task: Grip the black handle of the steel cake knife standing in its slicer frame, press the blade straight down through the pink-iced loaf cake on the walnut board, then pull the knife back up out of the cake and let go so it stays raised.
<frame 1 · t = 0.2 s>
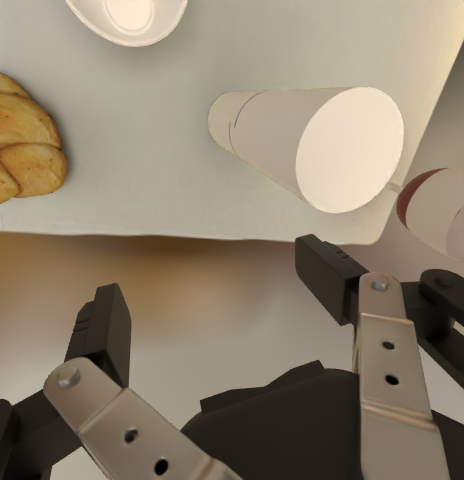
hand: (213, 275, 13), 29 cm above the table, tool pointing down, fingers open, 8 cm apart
cylindrical container: (233, 121, 38), on the table
bread roll: (24, 137, 33), on the table
wineglass: (346, 169, 46), on the table
cup: (128, 5, 30), on the table
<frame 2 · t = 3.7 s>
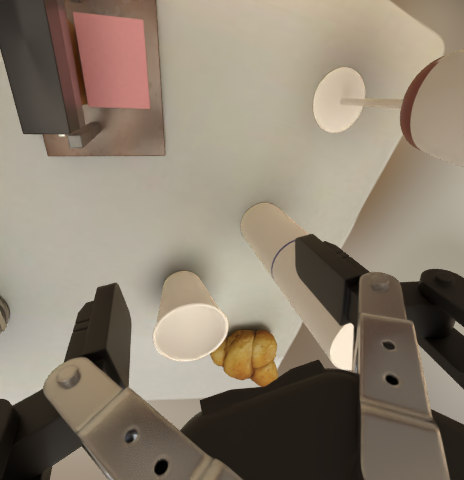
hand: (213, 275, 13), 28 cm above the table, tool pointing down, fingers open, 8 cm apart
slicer: (98, 69, 31), on the table
cylindrical container: (261, 223, 46), on the table
bread roll: (240, 340, 56), on the table
wineglass: (338, 101, 40), on the table
knife: (54, 52, 19), point 14 cm above the table, slide at 0.0 cm
cup: (181, 284, 47), on the table
cake: (96, 68, 30), resting on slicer
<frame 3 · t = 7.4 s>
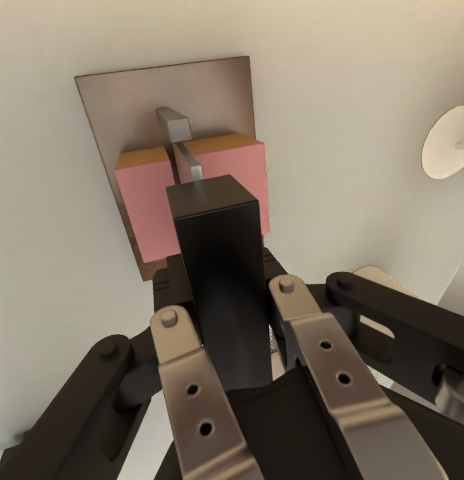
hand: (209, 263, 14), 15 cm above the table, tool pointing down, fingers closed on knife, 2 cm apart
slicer: (187, 178, 27), on the table
cylindrical container: (360, 286, 40), on the table
wineglass: (450, 143, 33), on the table
knife: (205, 253, 14), point 14 cm above the table, slide at 0.0 cm, touching gripper
cake: (189, 182, 25), resting on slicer
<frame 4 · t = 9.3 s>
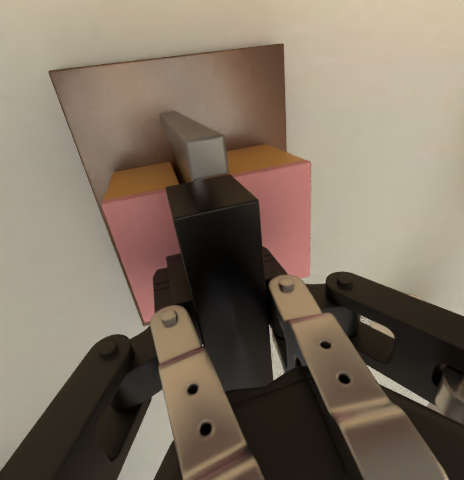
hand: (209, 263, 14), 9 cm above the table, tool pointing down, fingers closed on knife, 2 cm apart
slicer: (198, 200, 21), on the table
knife: (205, 253, 14), point 8 cm above the table, slide at 6.3 cm, touching gripper
cake: (202, 207, 20), resting on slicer
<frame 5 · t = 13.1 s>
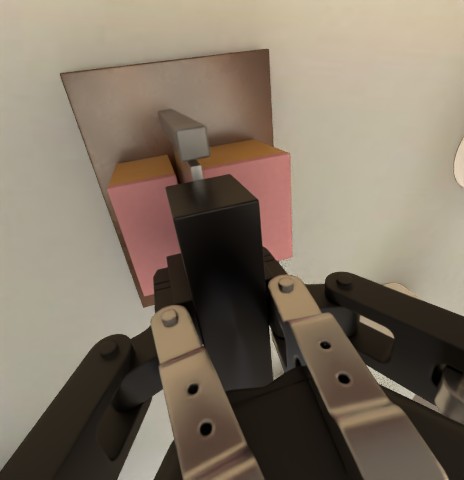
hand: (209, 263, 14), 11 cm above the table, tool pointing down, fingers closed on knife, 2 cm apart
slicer: (194, 191, 23), on the table
cylindrical container: (381, 305, 37), on the table
knife: (205, 252, 14), point 10 cm above the table, slide at 4.0 cm, touching gripper
cake: (197, 197, 22), resting on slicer
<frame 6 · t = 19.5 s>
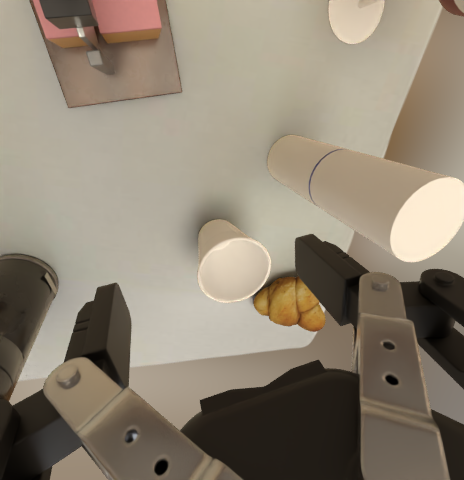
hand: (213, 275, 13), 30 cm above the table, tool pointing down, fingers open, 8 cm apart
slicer: (102, 5, 30), on the table
cylindrical container: (288, 159, 44), on the table
bread roll: (281, 289, 56), on the table
wineglass: (356, 6, 37), on the table
cup: (216, 235, 46), on the table
cake: (101, 1, 29), resting on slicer
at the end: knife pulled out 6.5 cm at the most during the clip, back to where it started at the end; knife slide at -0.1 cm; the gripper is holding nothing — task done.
